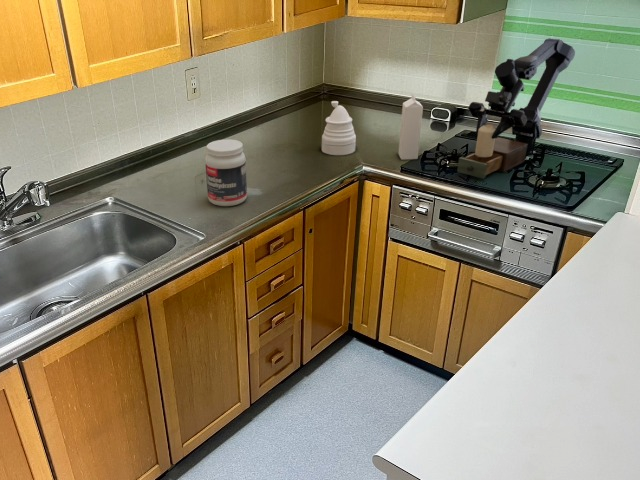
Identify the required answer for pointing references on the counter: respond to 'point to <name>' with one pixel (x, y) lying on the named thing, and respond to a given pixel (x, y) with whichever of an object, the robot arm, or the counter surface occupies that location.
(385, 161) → the counter surface
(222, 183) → the supplement tub
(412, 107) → the milk
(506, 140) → the cabinet
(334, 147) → the honey pot
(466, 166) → the drawer
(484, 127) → the candle
